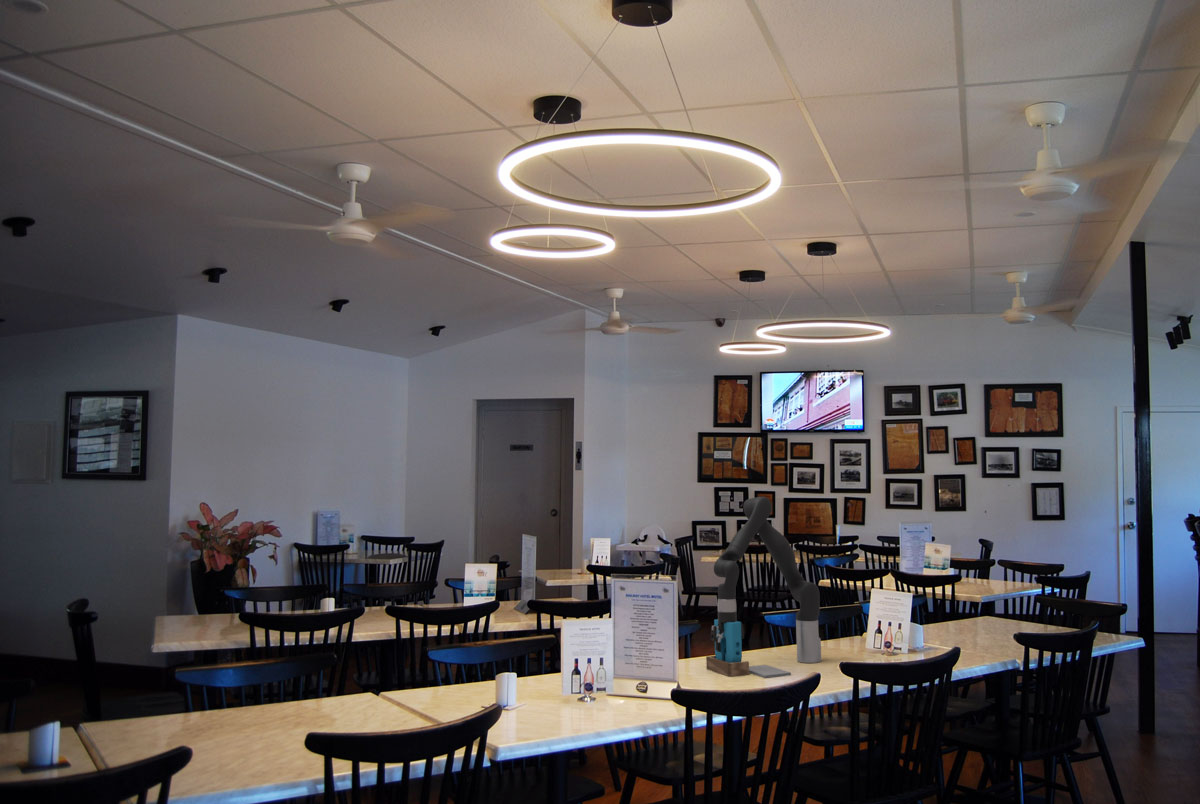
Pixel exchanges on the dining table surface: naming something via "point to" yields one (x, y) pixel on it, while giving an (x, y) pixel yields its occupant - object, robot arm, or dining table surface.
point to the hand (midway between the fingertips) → (727, 650)
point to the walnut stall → (727, 667)
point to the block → (730, 643)
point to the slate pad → (767, 671)
